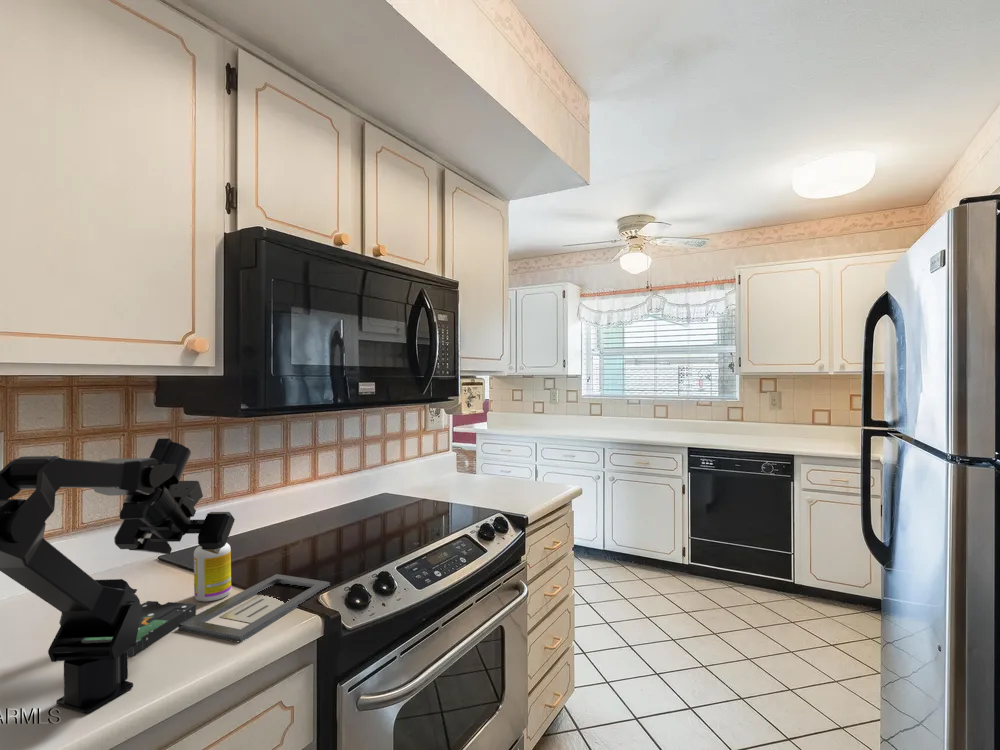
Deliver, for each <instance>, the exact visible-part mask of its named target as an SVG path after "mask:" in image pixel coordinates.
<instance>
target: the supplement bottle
mask: <svg viewBox="0 0 1000 750" xmlns="http://www.w3.org/2000/svg"><path fill="white" fill-rule="evenodd" d="M231 556H232V549H231V545H230V544H229V543H228V542H226V545H225V546H223V547H222V548H220V551H219V554H216V553H212V552H209V551H205V550H202V547H201V546H200V545H198V546H196V548H195V550H194V551H193V577H194V578H193V583H194V584H193V585H194V586H193V587H194V588H193V589H194V599H195V600H196V601H198V602H214V601H218V600H221V599H223V598H225V597H227V596H228V595H230V594H231V591H232V558H231Z"/></svg>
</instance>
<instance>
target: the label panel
mask: <svg viewBox="0 0 1000 750" xmlns="http://www.w3.org/2000/svg"><path fill="white" fill-rule="evenodd" d="M276 583H277V584H279V583H281V585H285V584H290V585H289V586H292V585H298V586H306V587H311V588H307V589H306V590H304V591H303V592H301V593H299V594H298V595H296V596H294V597H292V598H291V599H288V600H289V601H287V602H286V603H284V602H283V601H280V600H278V599H276V598H273V597H274V596H271V597H269V596H270V595H265V596H264V595H263V594H259V593H258V592H260V591H262V590H264V589H265V590H267V589H269V588H271V587H273V586H275V585H277V584H276ZM274 584H275V585H274ZM270 586H271V587H270ZM298 586H297V587H298ZM328 586H330V587H331V583H330V581H325V580H319V579H312V578H311V579H310V578H306V577H298V576H291V575H285V574H279V573H276V574H273V575H272V576H270V577H268V578H266V579H264V580H262V581H260V582H258V583H256V584H254V585H252V586H250V587H248V588H246V589H244V590H243V591H240V592H239V593H237V594H234V595H233V596H230V597H229V598H227V599H225V600H223V601H220V602H219V603H217V604H214V605H213V606H211V607H209V608H207V609H205V610H203V611H201V612H200V613H198V614H197V613H196V615H195V616H193V617H191V618H189V619H187V620H186V621H184V622H182V623H180V624H178V627H177V629H178V631H184V632H188V633H193V634H198V635H201V636H208V637H212V638H217V639H222V640H226V639H227V641H230V640H232V642H235V641H239V642H238V643H240V642H241V641H242V642H244V641H245V639H246V640H247V639H249V638H251V637H252V636H254V635H255V634H257V633H258V632H260V631H261V630H263V629H265V628H267V627H268V626H269V625H271V624H273V623H274V622H276V621H278V620H279V619H281V618H282V617H284V616H286V615H287V614H289V613H290V612H292V611H293V610H295V609H296V608H298V607H299V606H298V605H299V604H301V603H302V602H304V601H305V600H306V599H308V598H310V597H311V596H313V595H314V594H316V593H317V592H319V591H320V590H322V589H324V588H326V587H328ZM268 587H269V588H268ZM266 588H267V589H266ZM265 590H264V591H265ZM262 592H263V591H262ZM257 593H258V594H257ZM260 593H261V592H260ZM248 599H249V600H248ZM246 600H247V601H246ZM244 601H246V602H244ZM243 602H244V603H243ZM241 603H242V604H241ZM239 604H240V605H239ZM237 605H238V606H237ZM233 607H235V608H233ZM232 608H233V609H232ZM230 609H231V610H230ZM226 611H227V612H226ZM224 612H225V613H224ZM222 613H224V614H222ZM221 614H222V615H221ZM219 615H220V616H219ZM217 616H219V618H222V619H228V620H233V621H237V622H238V621H239V622H243V623H249V624H248V625H245V626H243V627H242V628H235V627H231V626H226V625H220V624H215V623H210V622H207V621H210V620H212V619H213V618H215V617H217ZM243 640H244V641H243ZM242 642H241V643H242Z"/></svg>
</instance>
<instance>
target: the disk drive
mask: <svg viewBox="0 0 1000 750" xmlns="http://www.w3.org/2000/svg"><path fill="white" fill-rule="evenodd" d="M140 604H141V607H142V611H141V617H140V623H139V628H138V634H137V639H136V643H135V644H134V645H133V646H132V647H130V648H129V649H128V650H127V652H128V658H133V657H135V656H137V655H138V654H140V653H141V652H143V651H144V650H146V649H148V648H149V647H151V646H152V645H154V644H155V643H156V642H157V641H160V640H161V639H162V638H164V637H166V636H168V635H169V634H170V633H172V632H173V631H175V630H176V629H178V624H180V623H182V622H184V621H186V620H187V619H189V618H191V617H193V616H195V615H197V604H196V603H188V602H187V603H185V602H176V601H175V602H172V601H171V602H170V601H168V602H166V603H164V604H161V603H159V601H157V600H155V601H152V600H147V601H145V602H143V603H140ZM112 638H113V637H94V638H81V641H84V640H112Z"/></svg>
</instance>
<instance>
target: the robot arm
mask: <svg viewBox="0 0 1000 750" xmlns="http://www.w3.org/2000/svg"><path fill="white" fill-rule="evenodd" d="M191 455H192V454H191V450H190V448H189V447H186V446H185V445H183V444H181V443H179V442H176V441H172V439H171V438H170V437H168V438H161V437H160V438H158V439H157V440H156V442H155V444H154V447H153V449H152V451H151V454H150V456H149V457H133V458H131V457H130V458H129V457H127V458H120V457H119V458H110V459H109V458H107V459H102V460H99V461H97V460H88V459H87V460H86V459H85V460H84V459H74V458H73V459H72V458H62V457H60V456H57V455H25V456H20V457H18V458H14V459H13V460H11V461H9V462H8V464H6V465H5V466H4V467H3V468H2V469H1V470H0V572H1V573H3V574H5V575H6V576H7V577H9V579H12V580H13V581H14V582H16V583H17V584H18V585H20V586H22V587H24V588H25V589H26V590H28V591H30V593H32V594H33V595H35V596H36V597H38V598H40V599H41V600H43V601H44V602H46V603H47V604H49V605H50V606H51V607H53V608H55V609H56V610H58V611H59V612H60V613H61V615H60V618H59V623H58V624H59V625H60V626H59V628H58V630H57V632H56V634H55V636H54V638H53V640H52V643H51V644H50V646H49V648H48V649H47V652H48V655H49V656H48V657H49V659H50V661H51V662H52V663H57V662H63V696H62V697H61V696H60V697H59V698H57V700H56V702H55V703H56V705H57V706H60V707H63V708H67V709H71V710H73V711H77V712H80V713H83V714H88V713H91V712H93V711H94V710H97V709H99V708H100V707H101V706H103V705H105V704H107V703H108V702H110V701H112V700H113V699H115V698H117V697H119V696H120V695H122V694H123V693H125V692H127V691H129V690H131V689H132V688H133V687H134V682H131V681H127V680H128V678H129V669H128V668H129V662H128V661H129V659H128V658H129V657H128V652H127V650H128V649H129V648H130V647H132V646H133V645H134V644H135V643H136V639H137V634H138V628H139V623H140V617H141V611H142V607H141V604H142V603H141V601H140V599H139V596H138V595H137V594H136V593H137V591H138V589H136V588H132V587H131V586H130V585H129V583H128V581H126V580H124V579H123V578H117V579H116V578H114V579H111V578H110V579H94V577H92V576H90V575H89V574H88V573H87V572H85V571H84V570H83V569H82V568H80V567H79V565H77V564H76V563H74V562H73V561H72V559H70V558H68V557H67V556H66V555H65V554H64V553H62V552H61V551H60V550H58V549H57V548H56V547H55V546H54V545H52V544H51V543H50V542H49V541H47V540H46V539H45V537H44V535H45V530H46V525H47V523H46V521H47V519H49V517H50V516H51V515H52V514H53V513H54V511H55V506H56V505H55V503H56V493H57V491H58V490H60V489H61V488H63V489H64V488H65V489H66V488H67V489H71V488H72V489H92V490H93V491H94V492H95V493H97V494H101V495H104V496H110V497H111V496H125V498H124V502H123V503H122V507H121V509H120V512H119V519H120V520H122V522H121V523H120V526H119V527H118V530H117V532H116V533H115V536H114V539H113V541H114V544H115V546H116V547H117V548H119V549H120V550H129V551H136V552H146V553H154V554H162V555H163V554H164V555H170V554H171V553H172V550H173V549H172V546H171V545H170V543H171V542H173V543H174V542H179V543H180V542H181V540H182V538H183V537H184V536H185V535H186V534H187V535H188V534H197V543H198V546H201V547H202V550H205V551H209V552H212V553H216V554H219V551H220V548H222V547H223V546H225V545H226V543H228V538H229V536H230V534H231V531H232V528H233V525H234V523H235V521H236V520H235V517H234V516H233V515H232V513H231V512H230V511H210V512H208V513H206V515H205V518H204V519H191V518H193V517H195V515H196V512H197V510H196V508H195V506H196V505H197V504H198V502H199V501H200V500H201V499H203V497H204V494H203V491H202V487H201V483H200V481H199V480H180V479H181V477H182V474H183V472H184V470H185V468H186V466H187V464H188V461H189V460H190V457H191ZM21 490H34V491H33V492H32V493H31V494H30V495H29V496H28V497H27V498H26V499H23V498H12V497H15V496H16V495H17V494H18V493H20V491H21ZM169 542H170V543H169ZM94 637H113V638H112V640H84V641H81V638H94Z"/></svg>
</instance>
